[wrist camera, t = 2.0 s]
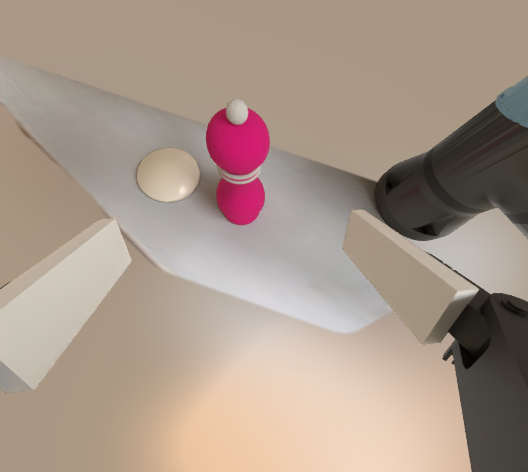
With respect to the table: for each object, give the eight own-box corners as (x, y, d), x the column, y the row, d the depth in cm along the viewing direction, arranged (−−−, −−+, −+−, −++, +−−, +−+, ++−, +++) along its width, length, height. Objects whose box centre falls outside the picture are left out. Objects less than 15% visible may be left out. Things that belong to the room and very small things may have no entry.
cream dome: (209, 187, 35) (208, 184, 34) (153, 212, 33) (150, 210, 32) (185, 143, 37) (183, 139, 36) (130, 165, 35) (127, 161, 34)
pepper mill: (226, 233, 33) (198, 151, 14) (215, 194, 35) (178, 73, 15) (267, 222, 34) (296, 132, 15) (255, 185, 36) (267, 62, 17)
